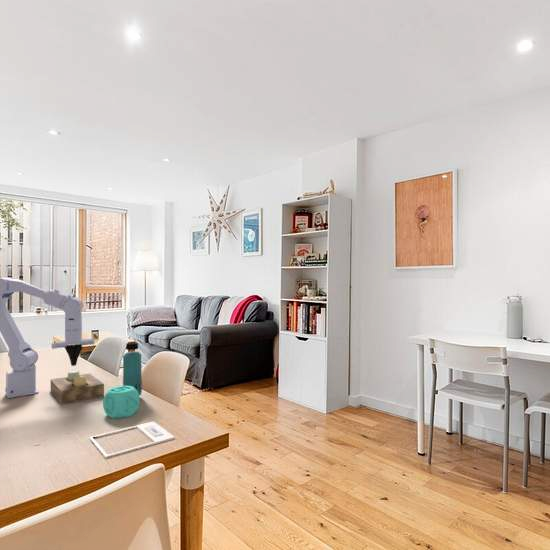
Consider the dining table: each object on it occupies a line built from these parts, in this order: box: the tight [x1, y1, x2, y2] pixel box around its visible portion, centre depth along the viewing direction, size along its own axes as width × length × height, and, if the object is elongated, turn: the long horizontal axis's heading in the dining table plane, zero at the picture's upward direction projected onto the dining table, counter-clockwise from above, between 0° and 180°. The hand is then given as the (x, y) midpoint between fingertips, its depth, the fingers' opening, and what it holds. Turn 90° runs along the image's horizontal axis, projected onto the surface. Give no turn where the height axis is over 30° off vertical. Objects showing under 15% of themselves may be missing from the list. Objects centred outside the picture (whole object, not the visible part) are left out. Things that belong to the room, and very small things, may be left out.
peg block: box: [50, 373, 105, 405], centre depth 147 cm, size 14×19×4 cm
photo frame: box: [88, 421, 176, 459], centre depth 107 cm, size 15×1×18 cm
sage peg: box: [67, 370, 80, 381], centre depth 151 cm, size 4×4×4 cm
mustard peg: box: [74, 376, 86, 387], centre depth 143 cm, size 4×4×4 cm
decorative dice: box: [102, 385, 141, 419], centre depth 126 cm, size 8×8×8 cm
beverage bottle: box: [122, 341, 143, 396], centre depth 141 cm, size 6×7×20 cm
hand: (73, 365), depth 151 cm, fingers closed
